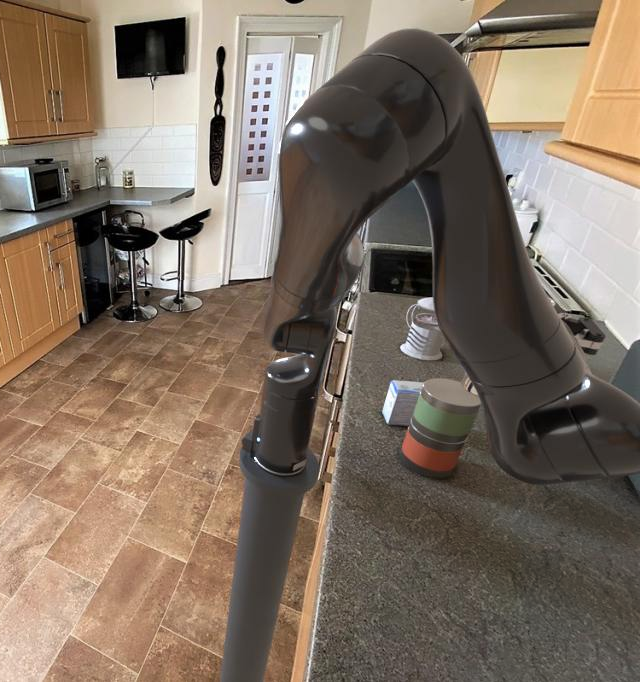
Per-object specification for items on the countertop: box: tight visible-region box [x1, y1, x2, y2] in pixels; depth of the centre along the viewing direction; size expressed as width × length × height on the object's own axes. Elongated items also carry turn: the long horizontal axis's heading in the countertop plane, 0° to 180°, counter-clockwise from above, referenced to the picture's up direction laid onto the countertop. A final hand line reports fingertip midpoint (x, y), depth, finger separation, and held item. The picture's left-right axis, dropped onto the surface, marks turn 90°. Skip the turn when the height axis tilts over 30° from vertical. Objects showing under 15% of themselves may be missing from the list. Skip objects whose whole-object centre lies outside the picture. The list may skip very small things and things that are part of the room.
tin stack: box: [399, 377, 482, 479], centre depth 77 cm, size 9×9×16 cm
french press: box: [399, 296, 444, 361], centre depth 112 cm, size 10×12×25 cm
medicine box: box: [382, 379, 424, 427], centre depth 89 cm, size 8×4×9 cm, turn 77°
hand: (515, 305), depth 61 cm, fingers closed on beer glass, 7 cm apart
